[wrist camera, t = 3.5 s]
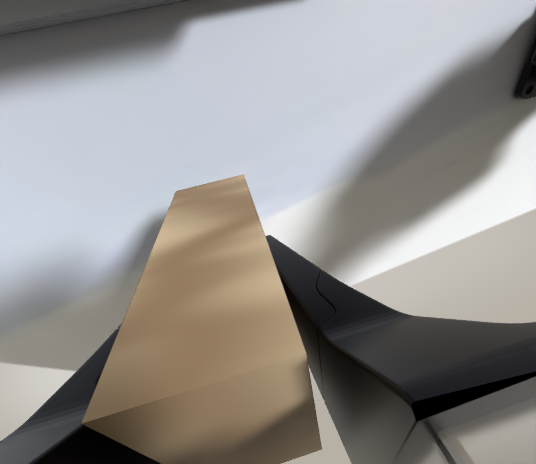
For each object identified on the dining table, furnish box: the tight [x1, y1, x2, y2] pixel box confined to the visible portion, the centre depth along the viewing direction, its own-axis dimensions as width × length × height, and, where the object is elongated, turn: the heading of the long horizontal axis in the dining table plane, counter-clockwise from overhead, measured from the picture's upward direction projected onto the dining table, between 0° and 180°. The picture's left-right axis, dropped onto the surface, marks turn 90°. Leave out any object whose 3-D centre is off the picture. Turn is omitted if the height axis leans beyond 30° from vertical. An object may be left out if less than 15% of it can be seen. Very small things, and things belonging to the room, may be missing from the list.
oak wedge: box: [81, 174, 322, 464], centre depth 8 cm, size 3×5×8 cm, turn 11°
